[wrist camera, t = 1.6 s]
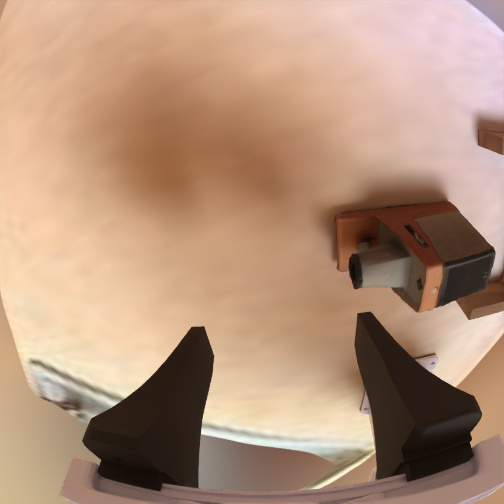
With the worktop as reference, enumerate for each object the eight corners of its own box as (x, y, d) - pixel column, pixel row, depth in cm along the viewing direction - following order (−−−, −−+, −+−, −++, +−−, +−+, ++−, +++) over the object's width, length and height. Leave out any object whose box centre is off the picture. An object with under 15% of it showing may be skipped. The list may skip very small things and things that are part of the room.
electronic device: (331, 209, 20) (360, 267, 14) (449, 197, 19) (508, 243, 12) (334, 264, 22) (357, 333, 16) (444, 248, 21) (491, 304, 14)
